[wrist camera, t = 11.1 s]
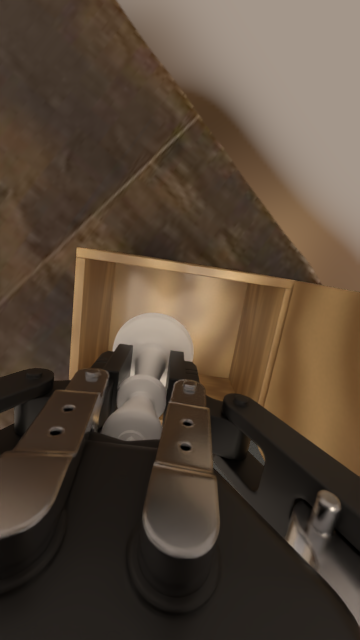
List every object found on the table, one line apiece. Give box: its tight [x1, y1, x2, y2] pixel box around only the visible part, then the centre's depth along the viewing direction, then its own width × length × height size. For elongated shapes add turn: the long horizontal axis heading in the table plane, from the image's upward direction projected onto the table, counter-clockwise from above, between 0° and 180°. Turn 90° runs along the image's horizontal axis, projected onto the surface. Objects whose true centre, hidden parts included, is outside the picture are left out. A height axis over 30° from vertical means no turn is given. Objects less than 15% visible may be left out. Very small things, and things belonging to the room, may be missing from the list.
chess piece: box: [101, 313, 194, 441], centre depth 11 cm, size 5×5×10 cm
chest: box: [69, 247, 295, 425], centre depth 30 cm, size 19×16×12 cm
